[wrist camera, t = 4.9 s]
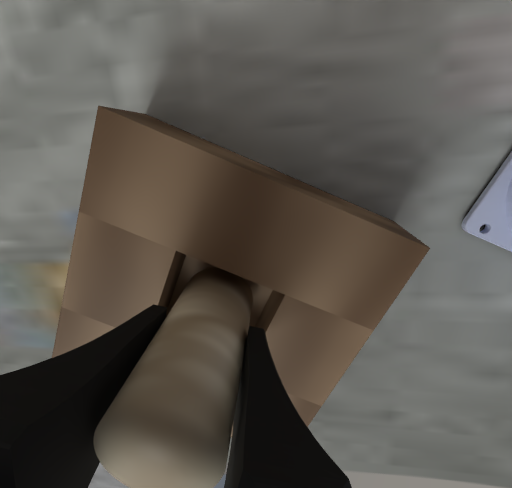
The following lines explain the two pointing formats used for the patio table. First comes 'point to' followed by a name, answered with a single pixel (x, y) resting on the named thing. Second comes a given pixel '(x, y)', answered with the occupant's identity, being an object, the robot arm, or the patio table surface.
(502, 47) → the patio table surface
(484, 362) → the patio table surface
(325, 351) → the socket block
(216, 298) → the peg
